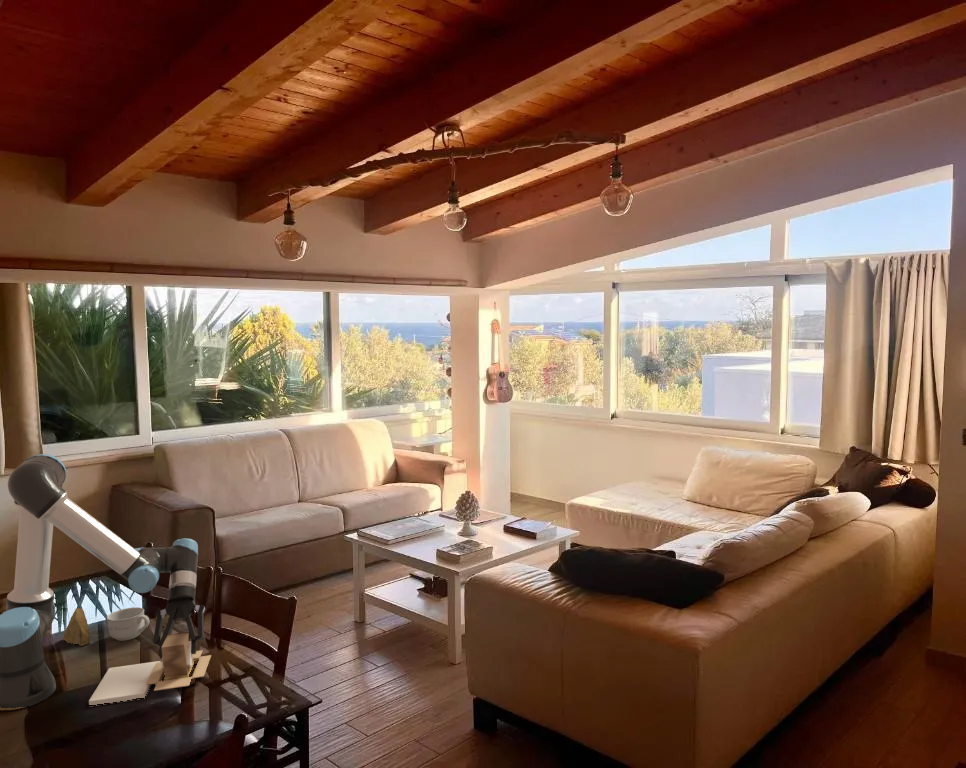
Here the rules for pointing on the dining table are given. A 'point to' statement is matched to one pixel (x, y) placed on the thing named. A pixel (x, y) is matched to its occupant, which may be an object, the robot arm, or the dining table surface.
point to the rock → (77, 629)
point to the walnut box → (176, 656)
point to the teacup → (127, 623)
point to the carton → (181, 682)
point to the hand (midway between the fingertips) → (176, 667)
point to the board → (123, 684)
